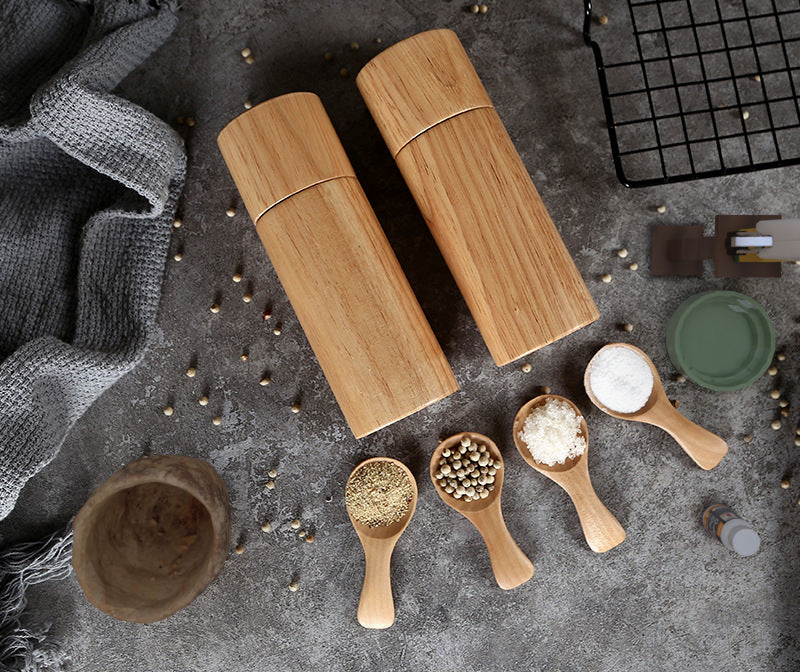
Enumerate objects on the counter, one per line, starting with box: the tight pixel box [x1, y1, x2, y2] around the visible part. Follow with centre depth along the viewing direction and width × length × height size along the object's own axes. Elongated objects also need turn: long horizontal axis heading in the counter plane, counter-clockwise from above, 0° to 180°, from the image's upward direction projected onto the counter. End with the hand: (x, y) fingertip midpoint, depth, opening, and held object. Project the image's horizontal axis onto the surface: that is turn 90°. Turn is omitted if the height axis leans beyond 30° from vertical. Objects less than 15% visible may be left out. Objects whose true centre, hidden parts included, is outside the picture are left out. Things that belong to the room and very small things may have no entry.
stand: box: [649, 214, 783, 279], centre depth 104 cm, size 9×9×25 cm
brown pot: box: [71, 453, 232, 625], centre depth 104 cm, size 22×22×25 cm
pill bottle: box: [702, 503, 761, 557], centre depth 112 cm, size 6×6×10 cm
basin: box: [665, 289, 776, 392], centre depth 114 cm, size 18×18×4 cm
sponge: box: [735, 228, 796, 263], centre depth 88 cm, size 4×4×7 cm
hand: (764, 244), depth 88 cm, fingers open, 9 cm apart
